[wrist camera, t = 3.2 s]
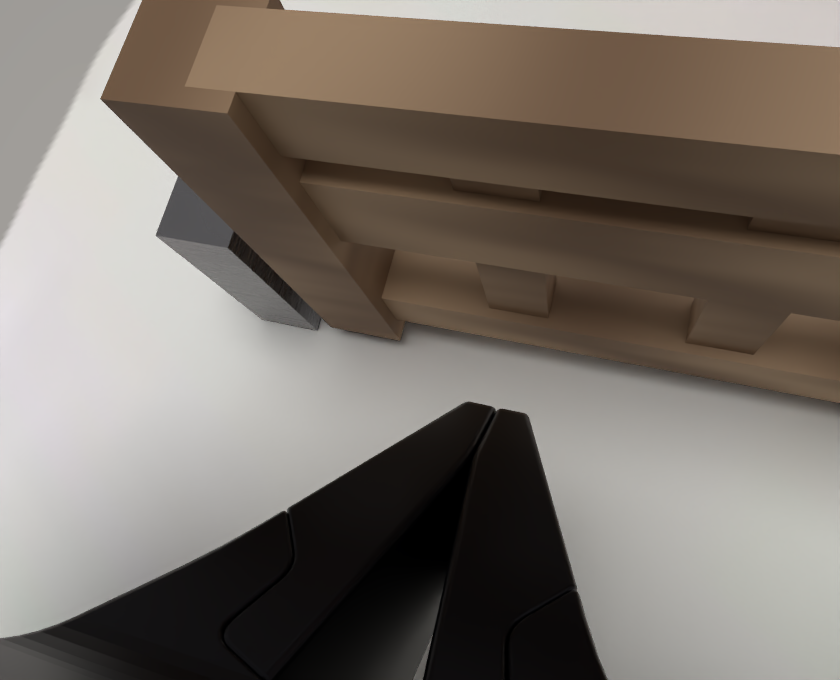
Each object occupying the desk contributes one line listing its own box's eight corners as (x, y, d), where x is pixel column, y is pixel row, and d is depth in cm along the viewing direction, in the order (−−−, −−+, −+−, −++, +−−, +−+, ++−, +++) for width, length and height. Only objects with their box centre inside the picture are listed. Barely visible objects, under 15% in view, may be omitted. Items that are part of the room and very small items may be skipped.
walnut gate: (959, 362, 14) (1550, 65, 6) (953, 449, 14) (1584, 268, 5) (351, 260, 17) (150, -20, 9) (331, 326, 17) (100, 98, 9)
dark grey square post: (1051, 476, 14) (1839, 340, 5) (261, 319, 18) (-3, 110, 10) (1054, 396, 14) (1785, 150, 6) (280, 261, 19) (42, 14, 10)
